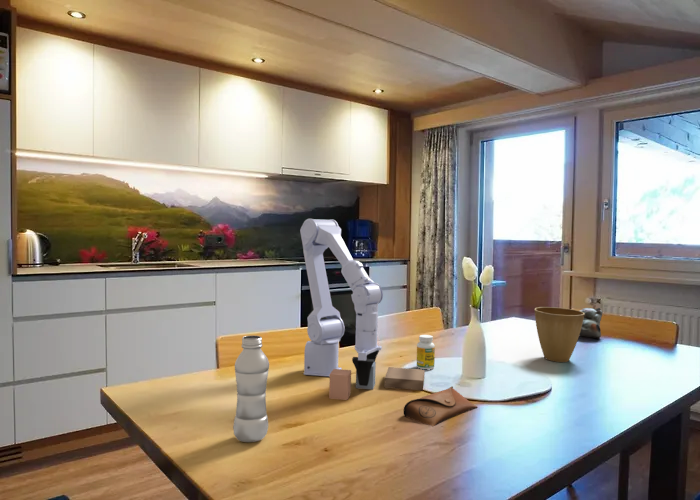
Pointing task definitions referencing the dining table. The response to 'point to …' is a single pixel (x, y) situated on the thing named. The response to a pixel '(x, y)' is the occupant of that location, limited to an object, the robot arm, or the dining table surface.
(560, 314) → the plant pot
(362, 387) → the slate block
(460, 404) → the sunglasses case
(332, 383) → the terracotta block
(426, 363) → the supplement bottle
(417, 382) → the walnut base
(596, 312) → the lucky cat figurine
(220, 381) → the dining table surface
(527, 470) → the dining table surface
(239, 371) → the plastic bottle
